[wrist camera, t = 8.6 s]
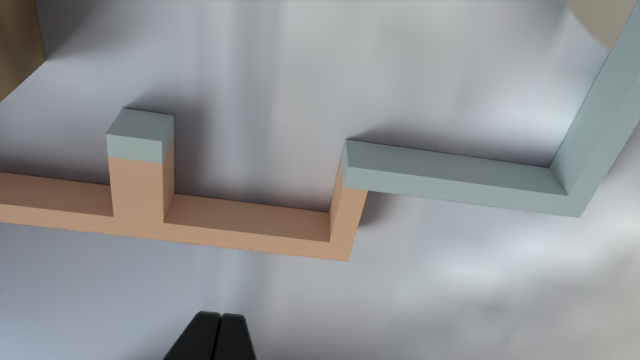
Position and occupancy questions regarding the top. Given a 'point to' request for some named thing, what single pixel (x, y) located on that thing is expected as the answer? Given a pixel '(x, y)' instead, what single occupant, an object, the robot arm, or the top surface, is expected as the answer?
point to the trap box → (351, 184)
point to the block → (18, 43)
